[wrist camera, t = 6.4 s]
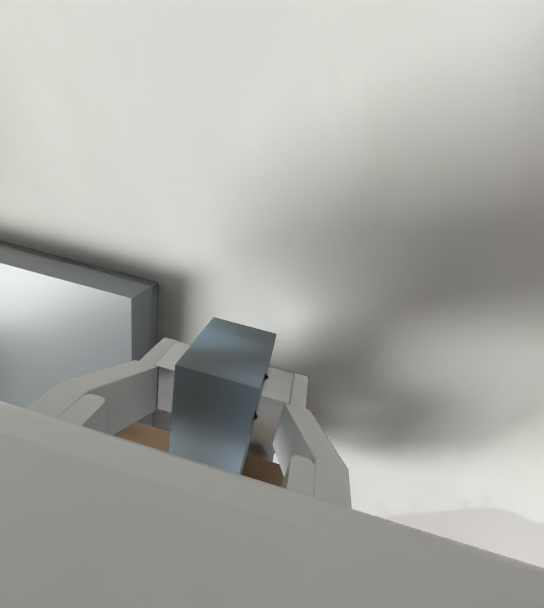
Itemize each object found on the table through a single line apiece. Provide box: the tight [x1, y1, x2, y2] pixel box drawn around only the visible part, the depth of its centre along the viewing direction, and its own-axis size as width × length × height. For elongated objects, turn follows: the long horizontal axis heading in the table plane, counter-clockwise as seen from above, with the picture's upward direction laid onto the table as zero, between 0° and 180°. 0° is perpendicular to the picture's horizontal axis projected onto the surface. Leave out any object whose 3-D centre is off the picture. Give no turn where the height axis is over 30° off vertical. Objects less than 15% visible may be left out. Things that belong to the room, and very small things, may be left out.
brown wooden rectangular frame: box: [113, 317, 284, 487], centre depth 11 cm, size 10×12×3 cm
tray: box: [0, 241, 158, 426], centre depth 19 cm, size 17×17×2 cm
